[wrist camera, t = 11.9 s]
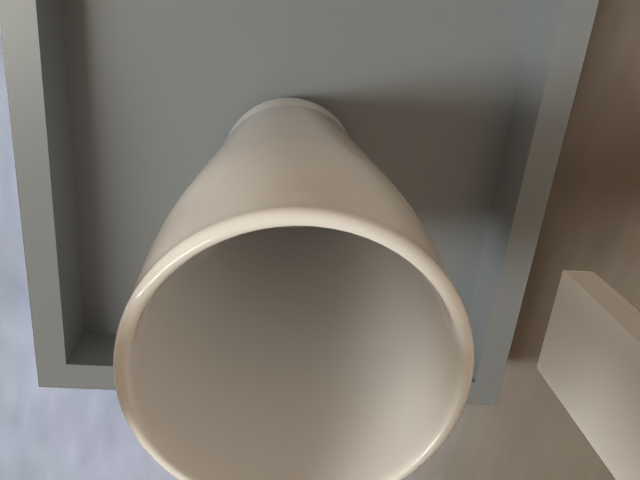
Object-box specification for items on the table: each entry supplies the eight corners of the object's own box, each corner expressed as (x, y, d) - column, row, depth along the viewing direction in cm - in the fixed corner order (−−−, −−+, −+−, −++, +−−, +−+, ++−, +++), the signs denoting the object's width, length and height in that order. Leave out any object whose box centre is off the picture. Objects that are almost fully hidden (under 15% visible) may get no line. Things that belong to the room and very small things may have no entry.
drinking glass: (312, 40, 23) (357, 123, 9) (400, 180, 25) (541, 415, 11) (171, 138, 24) (21, 344, 10) (269, 263, 26) (254, 566, 13)
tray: (66, 341, 28) (38, 386, 25) (25, -149, 21) (-22, -173, 18) (473, 360, 30) (495, 405, 27) (575, -84, 23) (623, -95, 19)
